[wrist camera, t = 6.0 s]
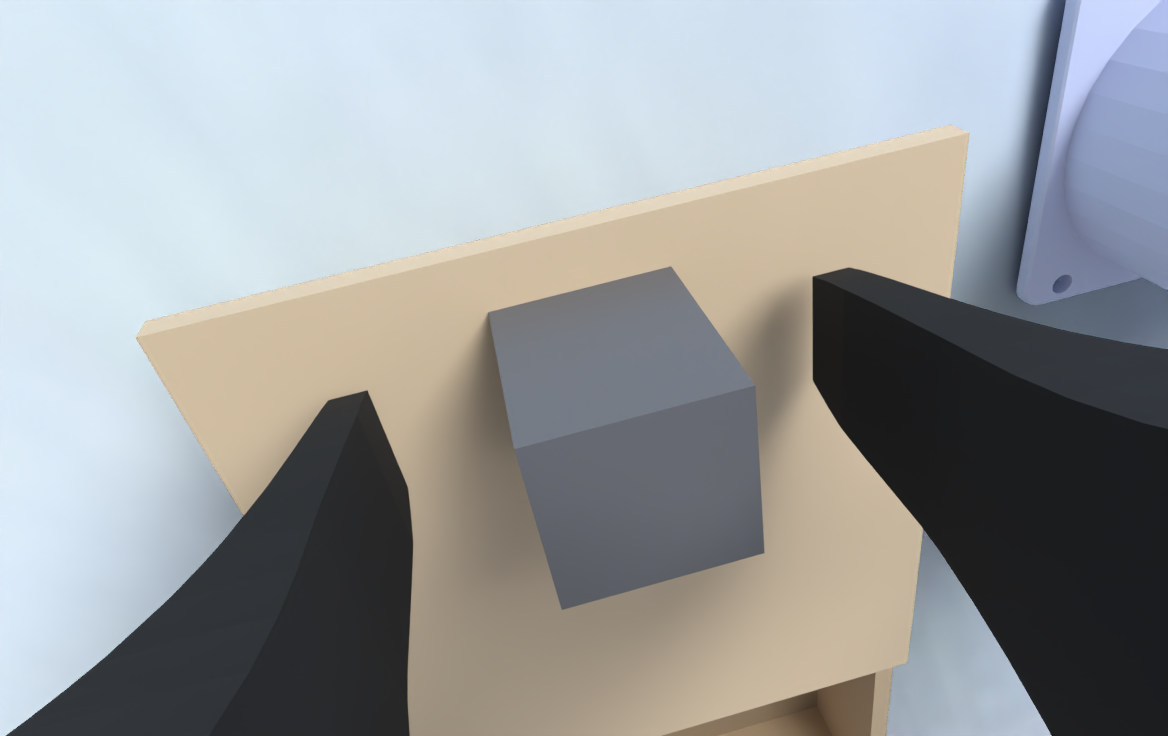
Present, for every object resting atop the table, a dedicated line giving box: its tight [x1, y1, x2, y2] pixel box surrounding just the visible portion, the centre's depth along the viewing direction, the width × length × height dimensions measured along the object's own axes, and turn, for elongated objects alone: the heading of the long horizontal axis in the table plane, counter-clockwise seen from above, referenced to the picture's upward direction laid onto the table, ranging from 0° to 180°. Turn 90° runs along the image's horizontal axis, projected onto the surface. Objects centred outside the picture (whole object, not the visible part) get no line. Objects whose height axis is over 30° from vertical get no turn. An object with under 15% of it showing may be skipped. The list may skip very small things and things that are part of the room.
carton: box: [662, 667, 893, 736], centre depth 22 cm, size 13×14×4 cm
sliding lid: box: [136, 125, 969, 736], centre depth 14 cm, size 13×14×4 cm
